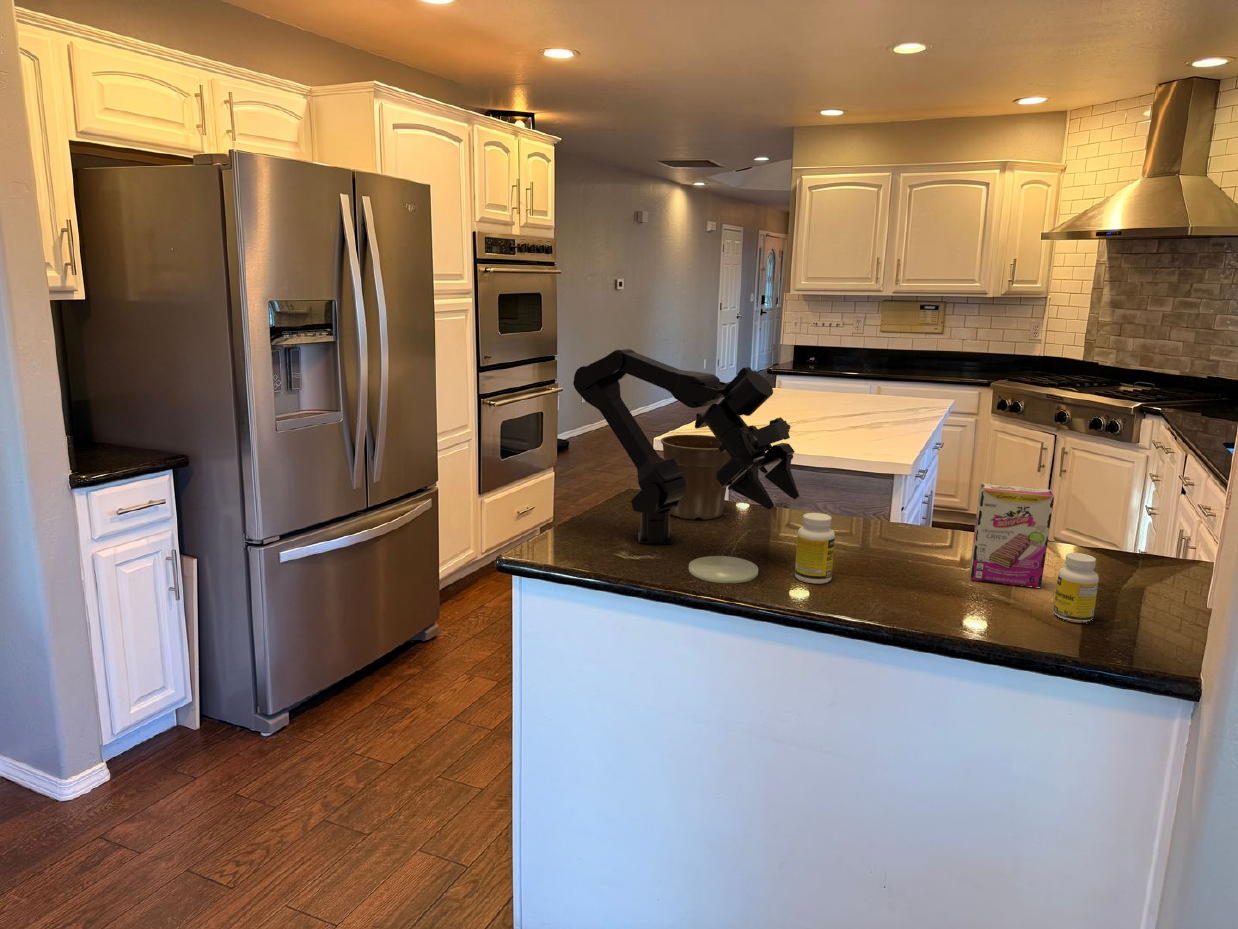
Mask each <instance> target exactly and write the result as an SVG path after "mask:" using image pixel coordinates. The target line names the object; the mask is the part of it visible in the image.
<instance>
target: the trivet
mask: <svg viewBox="0 0 1238 929" xmlns="http://www.w3.org/2000/svg"><path fill="white" fill-rule="evenodd" d="M688 572H689V574H691V575H692V576H693V577H695V578H697V579H700V580H703V581H706V582H710V583H711V582H712V583H720V584H740V583H746V582H750V581H752V580H754V579H756V578H757V577H758V576H759V568H758V566H757V565H756V563H754V562H752V561H750V560H747V559H745V558H740V557H734V556H727V555H726V556H725V555H710V556H709V555H708V556H703V557H698V558H695V559H692V560H691V561H690V562H689V564H688Z"/></svg>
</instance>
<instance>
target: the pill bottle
mask: <svg viewBox="0 0 1238 929" xmlns="http://www.w3.org/2000/svg"><path fill="white" fill-rule="evenodd" d="M802 524H803V526H801V527H800V528H799V529H798V530H797V536H796V537H797V538H796V552H795V567H794V576H795V578H796V579H797V580H799V581H801V582H804V583H809V584H815V585H816V584H817V585H818V584H819V585H821V584H827V583H828V582H830V581H831V580H832V576H833V568H834V567H833V565H834V554H835V553H834V551H835V550H834V549H835V541H836V540H835V539H836V537H835V536H836V534H835V532H834V530H833V529H831V528H830V527H831V526H832V516H830V515H828V514H825V513H820V512H807V513H805V514H803V515H802Z"/></svg>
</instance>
